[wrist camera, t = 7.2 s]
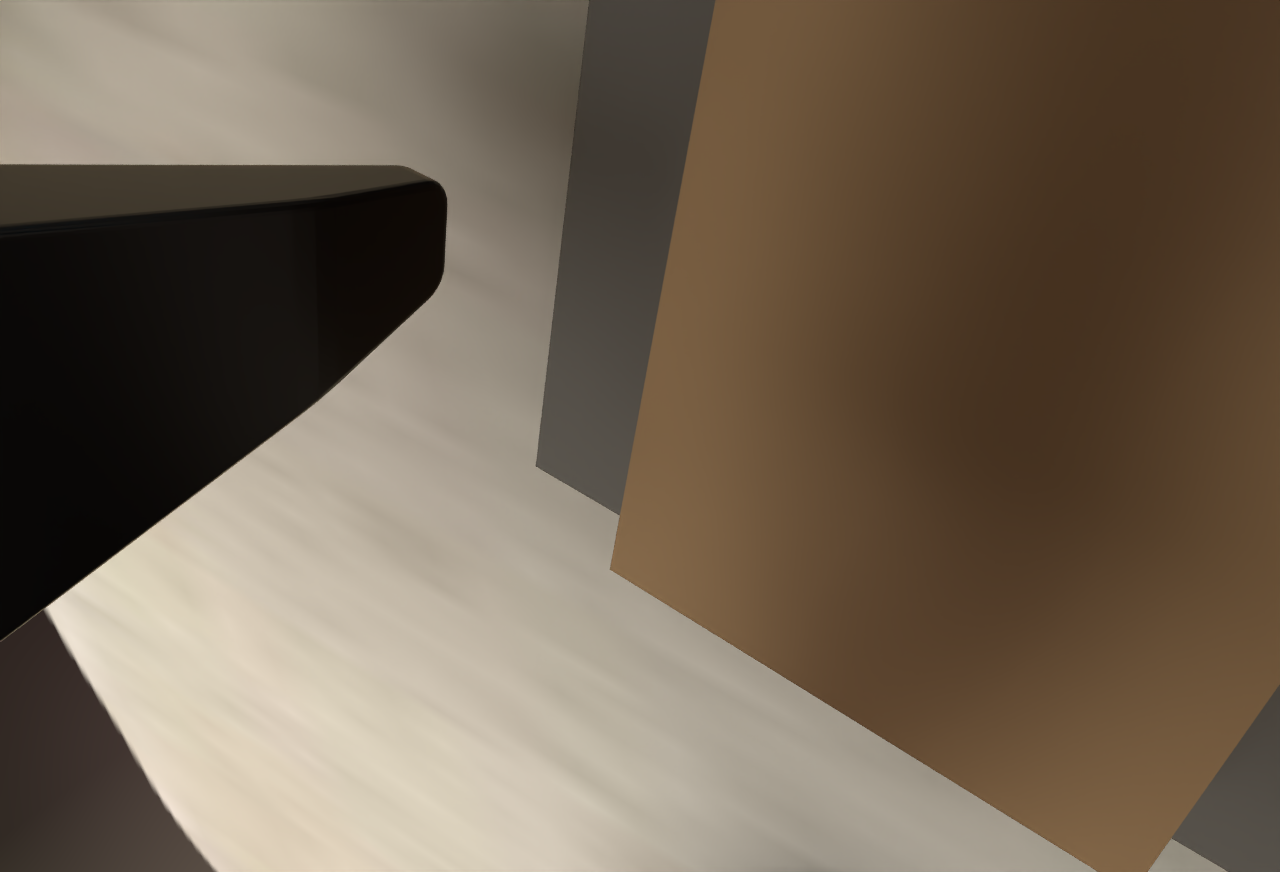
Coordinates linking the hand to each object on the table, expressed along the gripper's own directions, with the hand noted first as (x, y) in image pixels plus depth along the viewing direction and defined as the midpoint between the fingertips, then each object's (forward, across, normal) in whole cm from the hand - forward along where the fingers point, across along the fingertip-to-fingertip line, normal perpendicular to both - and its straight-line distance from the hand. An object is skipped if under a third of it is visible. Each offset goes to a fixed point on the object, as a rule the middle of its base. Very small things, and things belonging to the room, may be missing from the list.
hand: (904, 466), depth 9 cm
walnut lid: (+4, 0, 0) cm, 4 cm away
